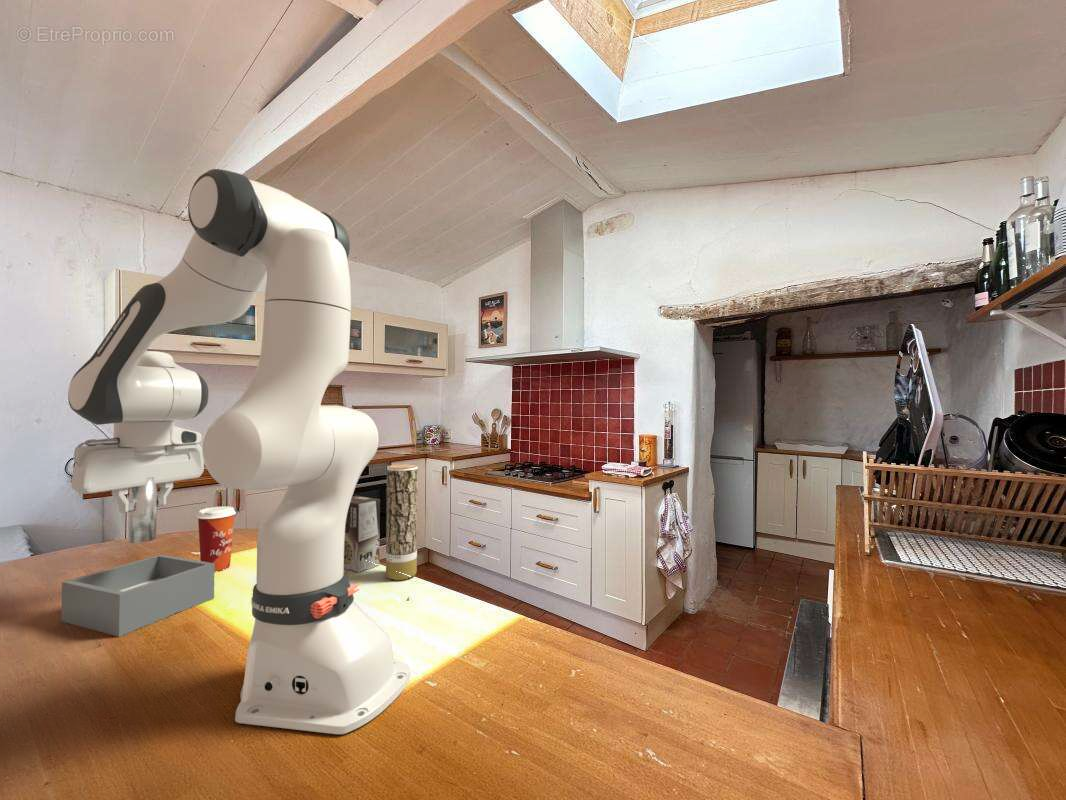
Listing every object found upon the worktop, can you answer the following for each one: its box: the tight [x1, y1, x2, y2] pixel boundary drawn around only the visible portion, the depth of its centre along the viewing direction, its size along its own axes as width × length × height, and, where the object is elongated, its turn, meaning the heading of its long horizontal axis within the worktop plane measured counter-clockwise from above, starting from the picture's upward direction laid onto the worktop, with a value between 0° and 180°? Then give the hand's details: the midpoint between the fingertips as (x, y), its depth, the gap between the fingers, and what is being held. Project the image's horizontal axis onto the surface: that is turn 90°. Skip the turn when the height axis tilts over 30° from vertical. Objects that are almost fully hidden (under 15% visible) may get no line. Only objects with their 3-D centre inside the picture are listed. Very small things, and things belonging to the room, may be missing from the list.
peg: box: [127, 477, 158, 544], centre depth 86 cm, size 4×4×12 cm
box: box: [60, 554, 215, 638], centre depth 86 cm, size 16×16×7 cm
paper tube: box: [385, 463, 419, 581], centre depth 103 cm, size 7×7×25 cm
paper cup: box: [196, 505, 237, 573], centre depth 107 cm, size 8×8×14 cm
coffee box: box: [344, 495, 381, 573], centre depth 110 cm, size 9×6×16 cm
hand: (143, 509), depth 86 cm, fingers closed on peg, 4 cm apart
